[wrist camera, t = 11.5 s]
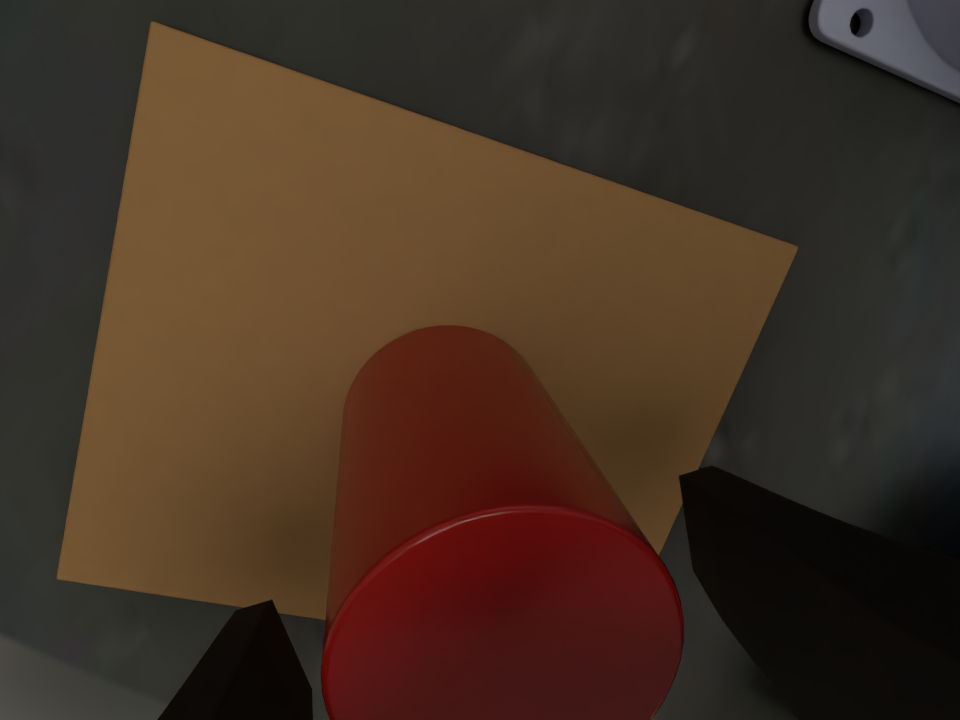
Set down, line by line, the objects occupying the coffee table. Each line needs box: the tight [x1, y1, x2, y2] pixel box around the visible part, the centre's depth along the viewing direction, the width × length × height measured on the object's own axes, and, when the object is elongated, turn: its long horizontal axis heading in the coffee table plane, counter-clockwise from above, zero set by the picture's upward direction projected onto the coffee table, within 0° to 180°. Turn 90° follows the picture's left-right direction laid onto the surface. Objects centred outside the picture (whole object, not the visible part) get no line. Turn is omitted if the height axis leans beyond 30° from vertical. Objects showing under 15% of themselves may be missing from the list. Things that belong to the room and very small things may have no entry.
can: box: [321, 325, 684, 720], centre depth 12 cm, size 5×5×8 cm
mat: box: [57, 22, 798, 620], centre depth 15 cm, size 14×12×1 cm
